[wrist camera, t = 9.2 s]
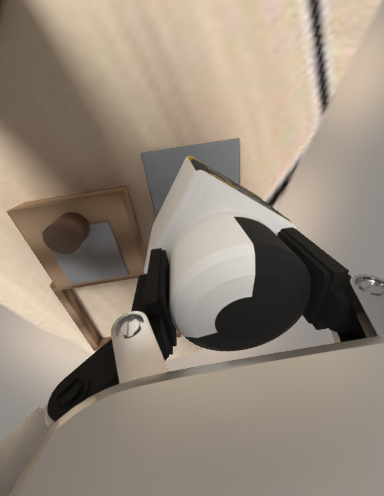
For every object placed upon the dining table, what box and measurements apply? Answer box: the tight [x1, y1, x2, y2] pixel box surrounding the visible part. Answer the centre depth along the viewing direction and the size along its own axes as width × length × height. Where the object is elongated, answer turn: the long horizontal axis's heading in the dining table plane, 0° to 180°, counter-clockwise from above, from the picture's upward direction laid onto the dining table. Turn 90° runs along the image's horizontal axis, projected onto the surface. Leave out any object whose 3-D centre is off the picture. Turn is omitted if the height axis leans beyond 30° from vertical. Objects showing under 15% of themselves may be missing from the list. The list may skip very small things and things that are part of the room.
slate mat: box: [141, 138, 239, 218], centre depth 22 cm, size 10×10×1 cm
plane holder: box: [7, 187, 181, 351], centre depth 26 cm, size 26×15×6 cm, turn 7°
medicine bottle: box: [144, 156, 311, 351], centre depth 13 cm, size 7×7×12 cm
